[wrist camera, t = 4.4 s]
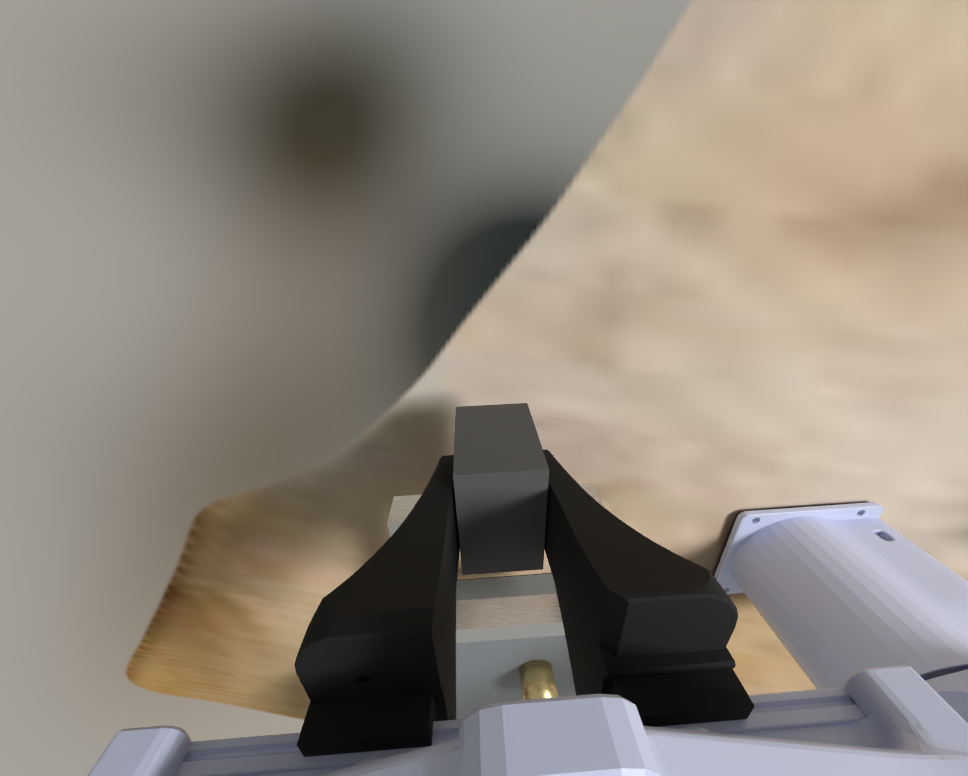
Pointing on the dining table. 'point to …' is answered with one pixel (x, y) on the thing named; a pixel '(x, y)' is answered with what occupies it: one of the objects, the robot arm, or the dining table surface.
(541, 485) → the steel link
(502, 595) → the keeper board
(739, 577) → the robot arm
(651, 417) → the dining table surface
